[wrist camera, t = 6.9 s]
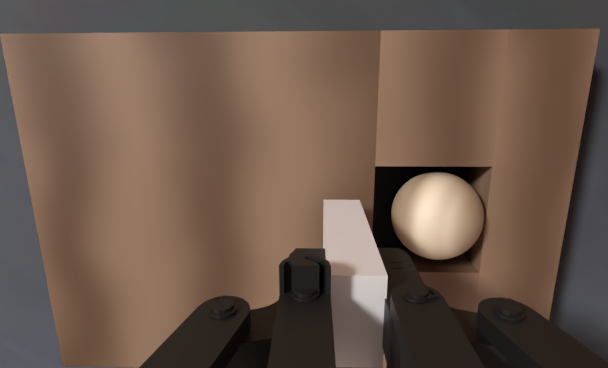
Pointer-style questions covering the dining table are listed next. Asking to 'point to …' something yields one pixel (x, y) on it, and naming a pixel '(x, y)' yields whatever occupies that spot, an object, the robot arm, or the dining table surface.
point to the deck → (280, 161)
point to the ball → (437, 215)
